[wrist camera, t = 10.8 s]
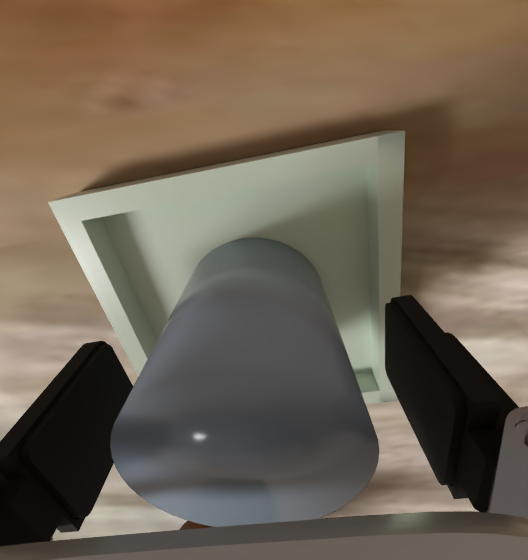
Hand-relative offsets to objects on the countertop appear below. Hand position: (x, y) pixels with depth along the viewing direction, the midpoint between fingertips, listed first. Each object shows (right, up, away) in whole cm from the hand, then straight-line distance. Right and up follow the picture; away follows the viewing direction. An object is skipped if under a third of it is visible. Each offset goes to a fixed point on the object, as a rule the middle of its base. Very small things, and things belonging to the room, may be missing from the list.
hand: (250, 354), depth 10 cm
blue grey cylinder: (0, +2, +3) cm, 3 cm away
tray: (0, +2, +3) cm, 4 cm away
